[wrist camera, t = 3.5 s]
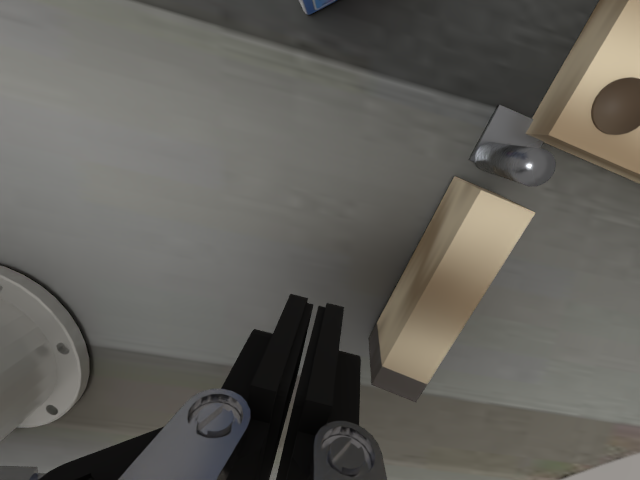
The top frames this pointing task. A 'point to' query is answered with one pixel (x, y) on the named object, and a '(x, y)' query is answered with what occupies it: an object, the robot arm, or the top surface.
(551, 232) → the top surface
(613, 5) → the stool top
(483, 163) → the silver metal knob
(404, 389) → the stool leg
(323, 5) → the ink cartridge box
